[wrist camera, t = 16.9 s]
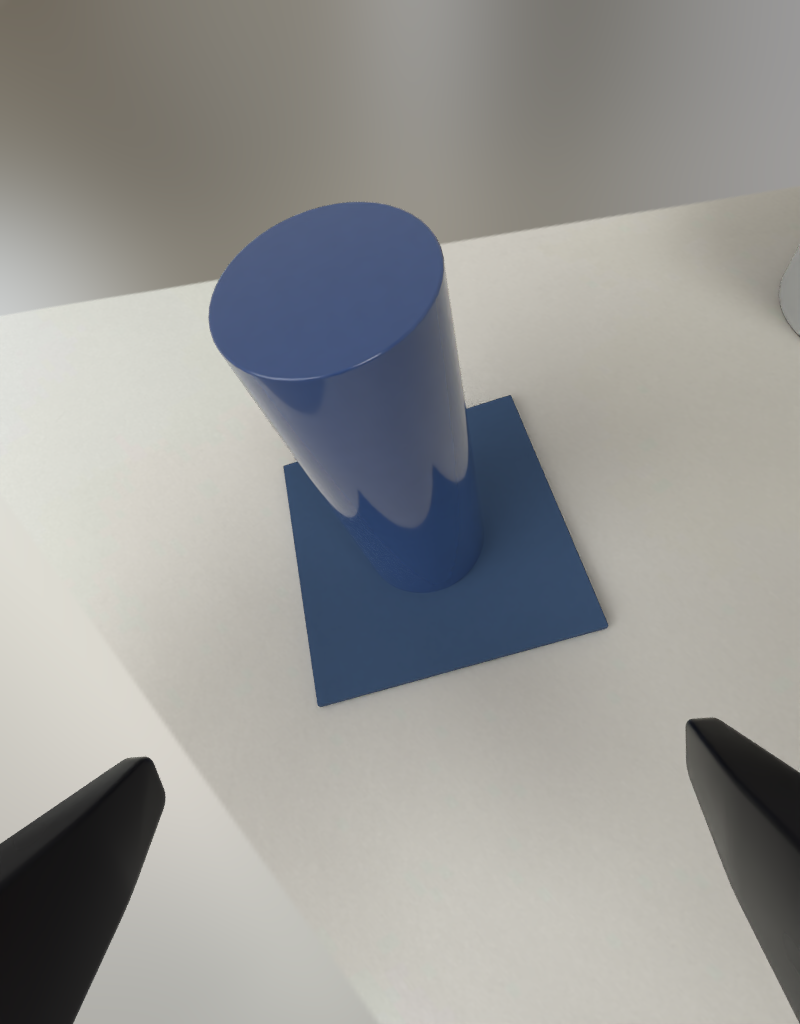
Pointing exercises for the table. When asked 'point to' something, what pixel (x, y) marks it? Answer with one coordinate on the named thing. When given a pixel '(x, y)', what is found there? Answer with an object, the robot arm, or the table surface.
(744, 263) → the table surface
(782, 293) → the cup
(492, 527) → the blue mat
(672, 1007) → the table surface
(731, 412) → the table surface
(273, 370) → the blue upright cylinder
